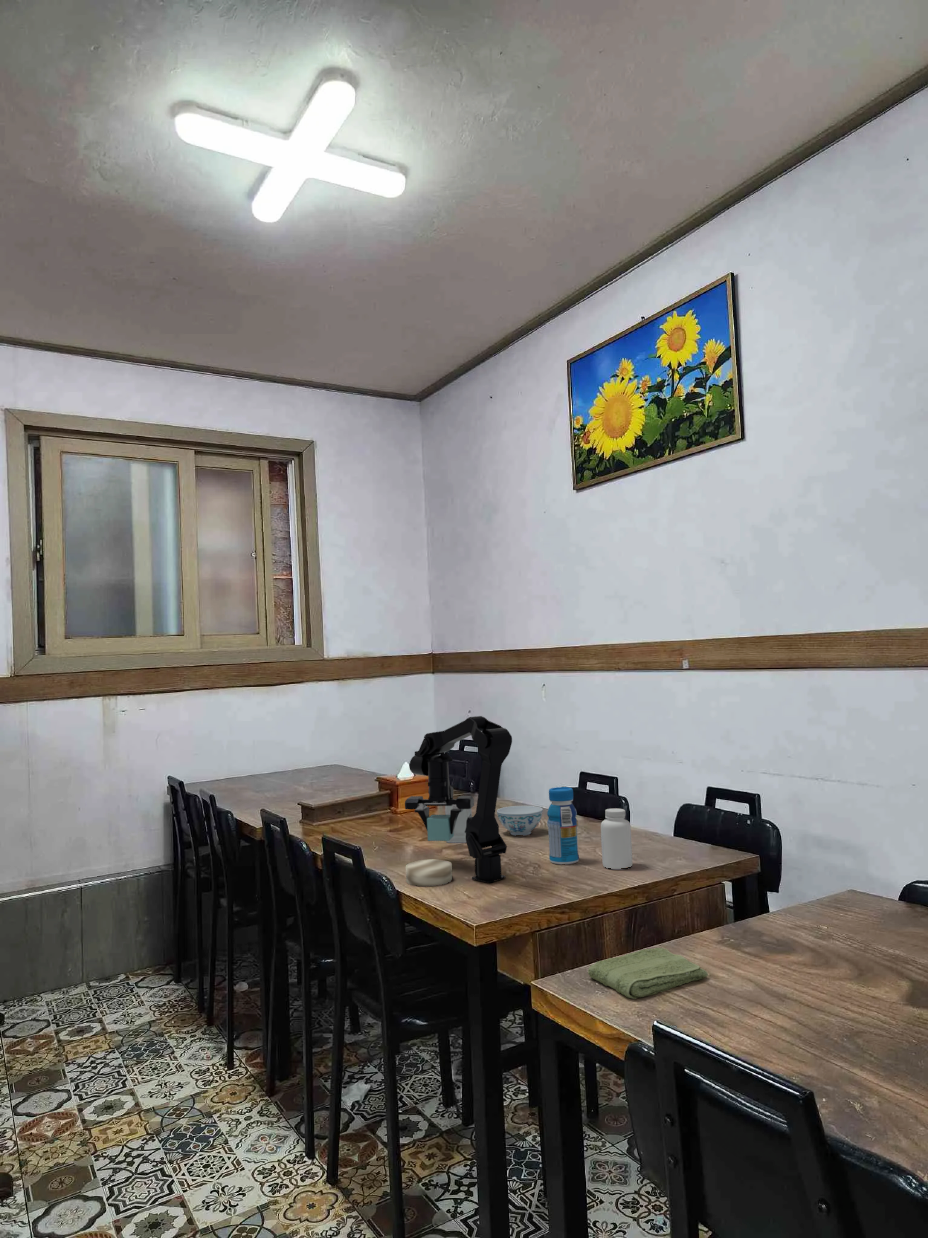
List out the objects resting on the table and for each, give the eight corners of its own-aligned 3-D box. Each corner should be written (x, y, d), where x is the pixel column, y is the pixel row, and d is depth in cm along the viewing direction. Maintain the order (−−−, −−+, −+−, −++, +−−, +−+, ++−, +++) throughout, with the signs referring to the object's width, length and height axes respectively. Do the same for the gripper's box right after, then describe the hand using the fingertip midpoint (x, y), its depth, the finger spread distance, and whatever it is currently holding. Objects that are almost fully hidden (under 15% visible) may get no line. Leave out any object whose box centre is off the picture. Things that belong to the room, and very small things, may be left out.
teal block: (453, 836, 228) (452, 814, 228) (449, 840, 222) (448, 818, 222) (433, 836, 229) (432, 814, 229) (427, 840, 223) (426, 818, 224)
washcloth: (712, 981, 139) (711, 962, 139) (631, 1005, 130) (630, 984, 131) (660, 958, 150) (659, 940, 150) (583, 979, 142) (582, 960, 142)
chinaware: (513, 827, 275) (512, 804, 275) (552, 831, 266) (551, 807, 266) (488, 836, 263) (487, 812, 263) (528, 840, 254) (527, 815, 254)
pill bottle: (638, 865, 217) (635, 809, 218) (622, 872, 211) (619, 813, 212) (613, 861, 222) (610, 806, 223) (596, 867, 216) (593, 811, 217)
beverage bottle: (544, 864, 223) (540, 790, 224) (555, 857, 230) (552, 786, 231) (573, 866, 219) (569, 791, 220) (583, 859, 226) (580, 787, 228)
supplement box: (468, 843, 253) (467, 802, 254) (445, 843, 255) (444, 802, 255) (473, 838, 260) (471, 798, 261) (450, 838, 262) (449, 798, 262)
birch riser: (461, 879, 211) (461, 864, 211) (428, 890, 202) (427, 874, 203) (429, 872, 219) (429, 857, 220) (396, 882, 211) (396, 866, 211)
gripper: (476, 773, 233) (478, 828, 232) (413, 773, 236) (415, 828, 235) (468, 778, 222) (471, 836, 221) (403, 779, 225) (405, 836, 224)
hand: (440, 834), depth 226 cm, fingers closed on teal block, 6 cm apart
